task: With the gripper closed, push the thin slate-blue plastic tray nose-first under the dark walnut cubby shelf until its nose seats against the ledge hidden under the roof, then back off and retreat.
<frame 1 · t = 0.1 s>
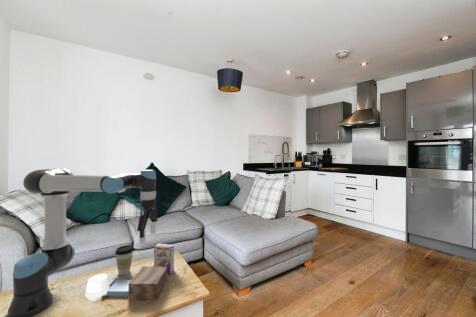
hand: (148, 238, 114), 28 cm above the table, fingers open, 13 cm apart
coffee cup: (124, 272, 131), on the table
tray: (121, 290, 114), on the table
candy bar box: (164, 271, 132), on the table
shelf: (149, 289, 114), on the table
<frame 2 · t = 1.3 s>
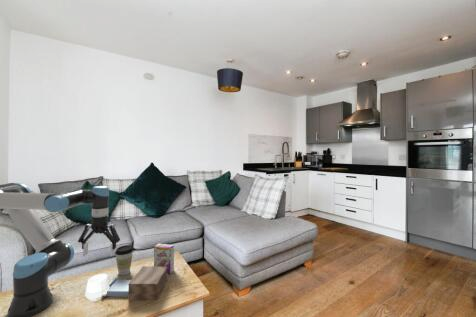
hand: (99, 255, 113), 19 cm above the table, fingers open, 13 cm apart
nothing on the table moved.
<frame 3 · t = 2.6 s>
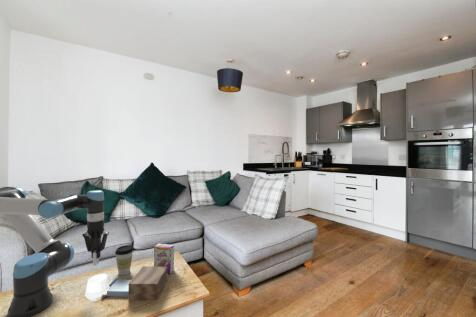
hand: (96, 263, 113), 14 cm above the table, fingers closed
nothing on the table moved.
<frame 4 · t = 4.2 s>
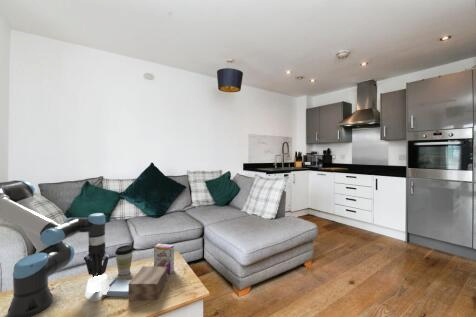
hand: (97, 286, 113), 2 cm above the table, fingers closed
nothing on the table moved.
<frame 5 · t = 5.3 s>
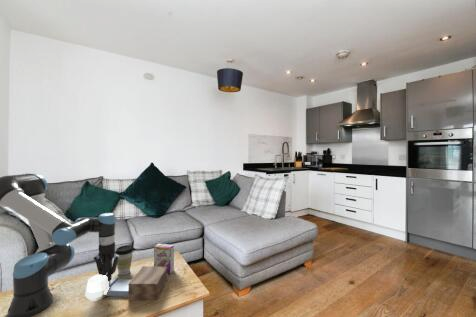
hand: (107, 286, 114), 2 cm above the table, fingers closed
tray: (122, 290, 114), on the table, touching gripper
everything else where it was.
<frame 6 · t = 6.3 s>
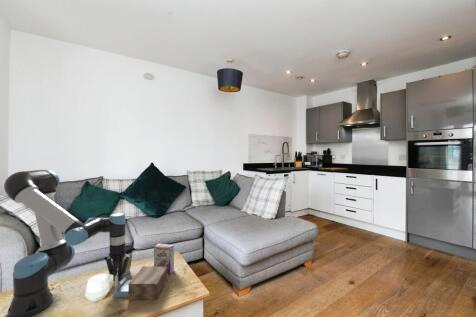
hand: (117, 286, 114), 2 cm above the table, fingers closed
tray: (132, 290, 114), on the table, touching gripper
everything else where it was.
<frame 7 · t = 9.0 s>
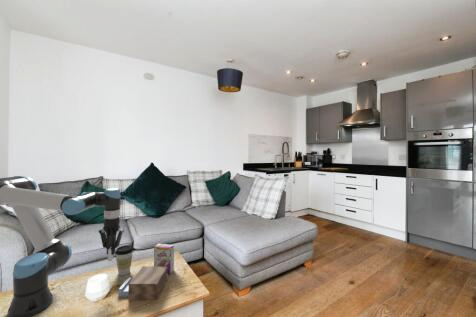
hand: (110, 260, 116), 15 cm above the table, fingers closed
tray: (136, 290, 114), on the table
everything else where it was.
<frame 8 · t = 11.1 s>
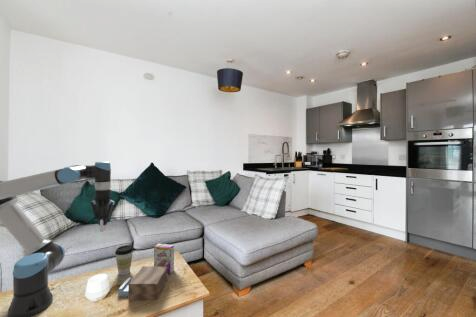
hand: (102, 230, 120), 29 cm above the table, fingers closed
nothing on the table moved.
at the end: tray 1.4 cm from the target spot on the shelf, point -0.5 cm above the shelf's base; tray tilted 0° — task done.
